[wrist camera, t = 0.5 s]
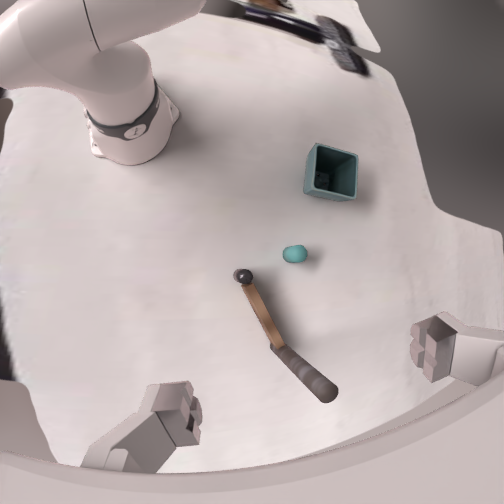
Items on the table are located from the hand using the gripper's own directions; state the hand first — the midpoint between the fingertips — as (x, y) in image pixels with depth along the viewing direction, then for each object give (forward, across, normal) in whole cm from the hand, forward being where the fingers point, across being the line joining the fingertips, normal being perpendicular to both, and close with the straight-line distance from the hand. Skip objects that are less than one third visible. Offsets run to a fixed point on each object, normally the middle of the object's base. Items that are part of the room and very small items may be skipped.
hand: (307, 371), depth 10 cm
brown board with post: (+42, +2, +18) cm, 46 cm away
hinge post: (+44, +4, +10) cm, 45 cm away
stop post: (+46, -6, +9) cm, 47 cm away
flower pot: (+51, -14, -3) cm, 53 cm away
